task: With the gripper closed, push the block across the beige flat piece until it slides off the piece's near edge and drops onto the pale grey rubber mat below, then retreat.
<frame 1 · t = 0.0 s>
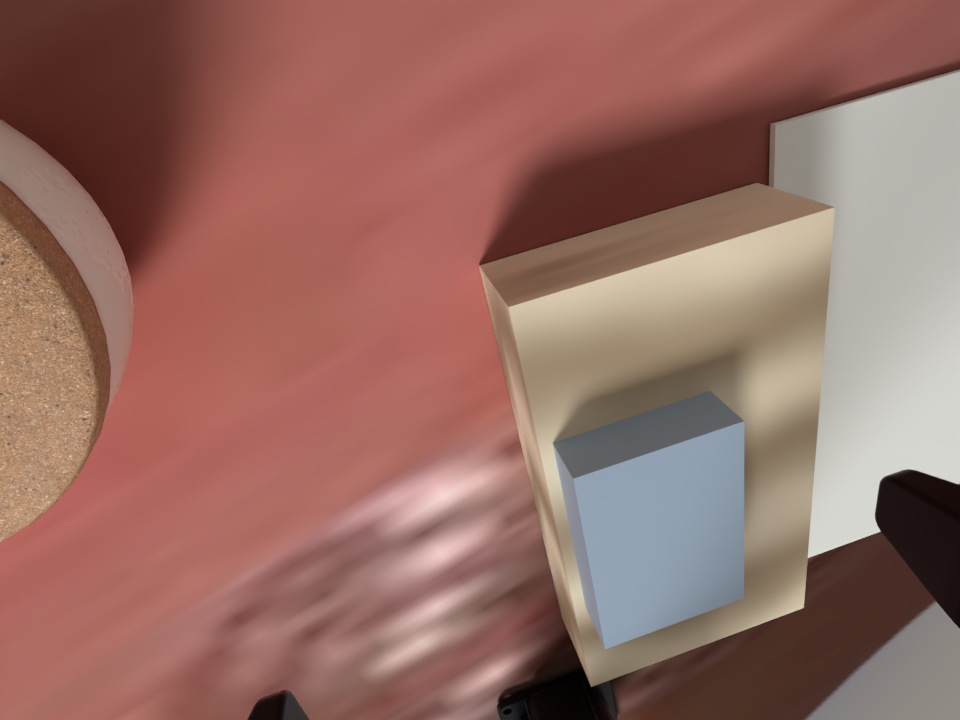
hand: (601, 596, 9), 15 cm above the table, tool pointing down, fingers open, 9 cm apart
block: (643, 508, 23), point 4 cm above the table, touching beige flat piece
mat: (880, 356, 28), on the table
beige flat piece: (643, 435, 27), on the table
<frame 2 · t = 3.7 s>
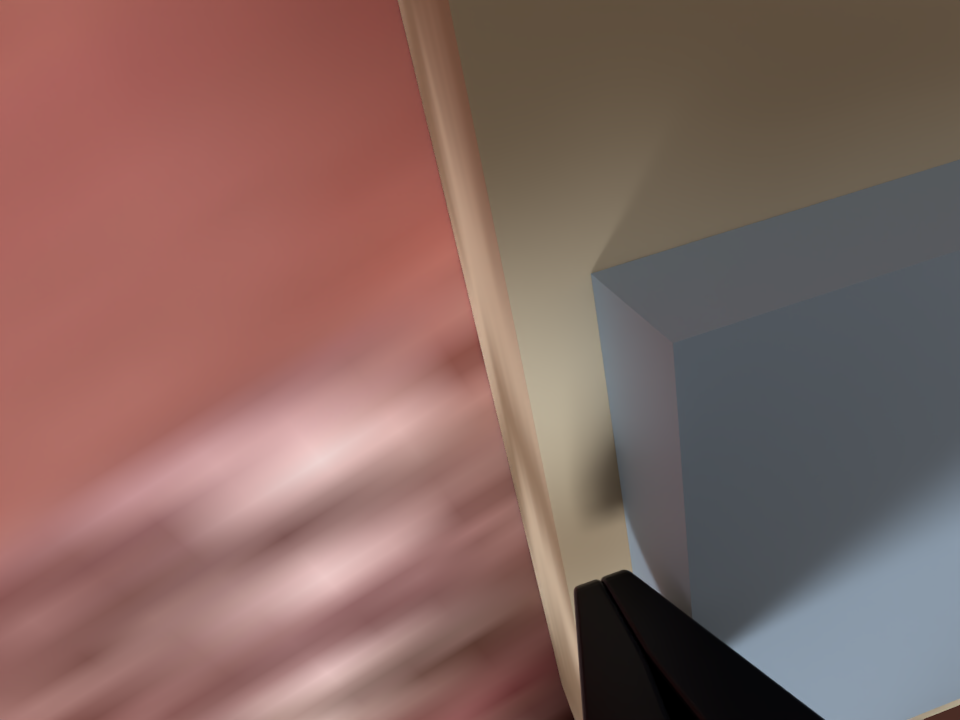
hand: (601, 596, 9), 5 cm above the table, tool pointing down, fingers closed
block: (796, 470, 10), point 4 cm above the table, touching beige flat piece
beige flat piece: (730, 343, 13), on the table
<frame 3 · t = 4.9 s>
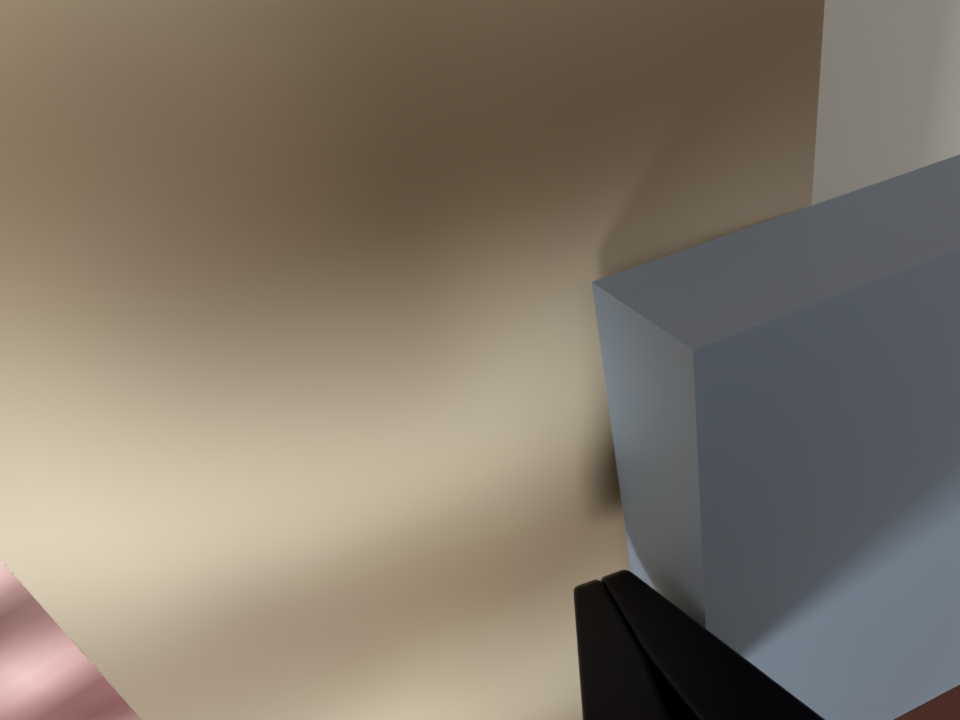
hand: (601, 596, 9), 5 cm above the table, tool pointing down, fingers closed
block: (788, 472, 10), point 4 cm above the table, touching gripper
mat: (930, 280, 14), on the table
beige flat piece: (436, 436, 13), on the table
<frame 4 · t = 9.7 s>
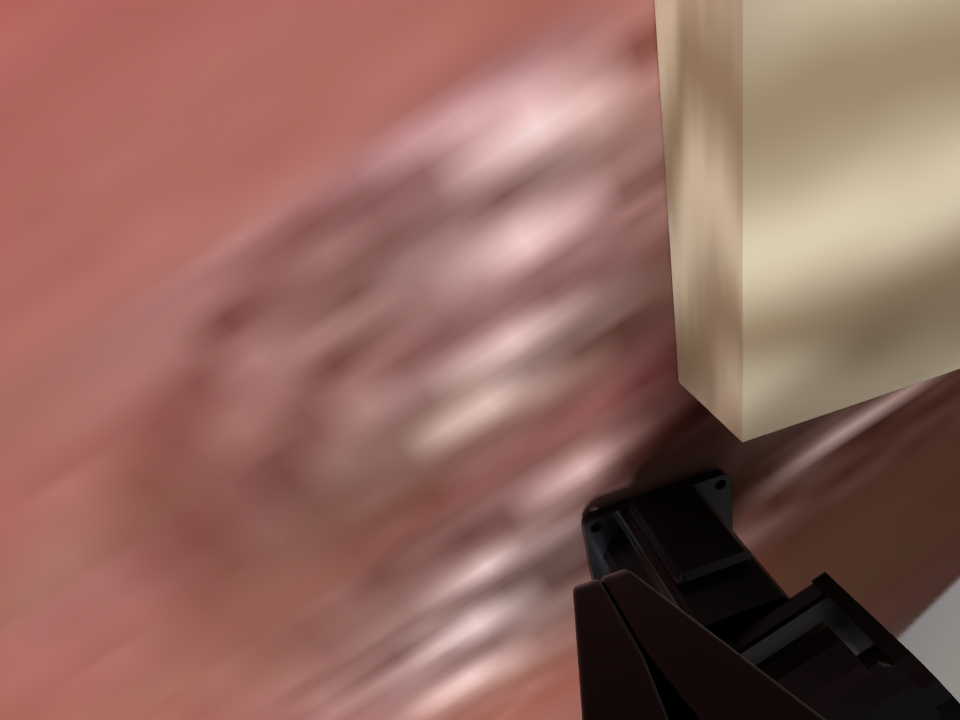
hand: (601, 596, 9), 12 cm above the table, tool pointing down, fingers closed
beige flat piece: (828, 55, 18), on the table
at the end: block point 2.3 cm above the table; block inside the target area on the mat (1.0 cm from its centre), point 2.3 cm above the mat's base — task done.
